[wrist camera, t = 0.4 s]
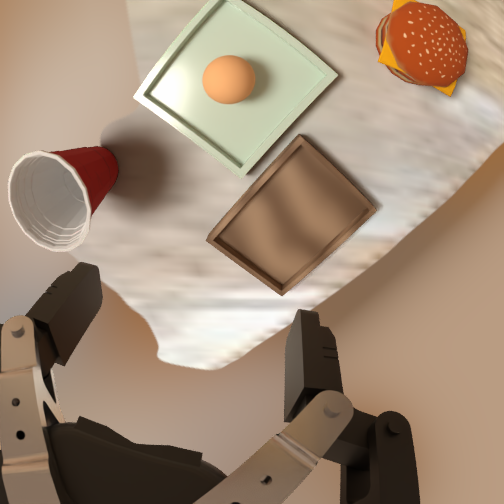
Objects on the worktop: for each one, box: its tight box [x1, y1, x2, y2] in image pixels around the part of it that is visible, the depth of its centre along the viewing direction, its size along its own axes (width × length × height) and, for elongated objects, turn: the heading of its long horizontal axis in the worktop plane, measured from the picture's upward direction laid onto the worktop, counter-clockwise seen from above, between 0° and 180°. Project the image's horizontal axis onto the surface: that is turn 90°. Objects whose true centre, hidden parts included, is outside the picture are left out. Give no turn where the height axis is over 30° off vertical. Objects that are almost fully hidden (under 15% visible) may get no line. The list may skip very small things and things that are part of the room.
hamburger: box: [376, 0, 468, 97], centre depth 22 cm, size 9×10×7 cm
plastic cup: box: [8, 146, 119, 252], centre depth 29 cm, size 11×11×12 cm
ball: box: [202, 55, 255, 104], centre depth 26 cm, size 5×5×5 cm
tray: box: [206, 134, 377, 296], centre depth 35 cm, size 16×12×2 cm
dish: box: [133, 0, 338, 179], centre depth 28 cm, size 15×15×2 cm
